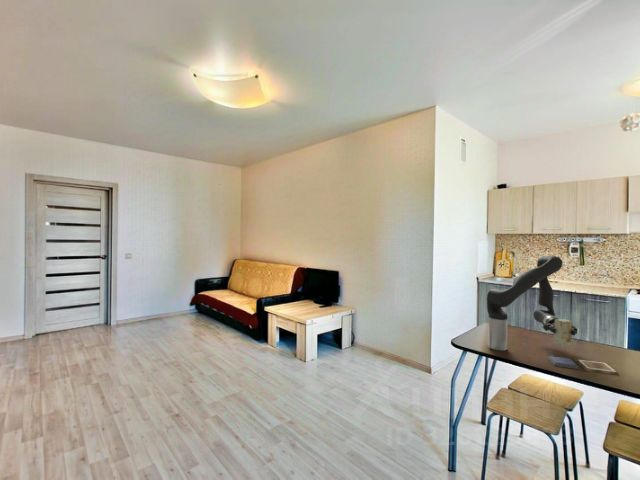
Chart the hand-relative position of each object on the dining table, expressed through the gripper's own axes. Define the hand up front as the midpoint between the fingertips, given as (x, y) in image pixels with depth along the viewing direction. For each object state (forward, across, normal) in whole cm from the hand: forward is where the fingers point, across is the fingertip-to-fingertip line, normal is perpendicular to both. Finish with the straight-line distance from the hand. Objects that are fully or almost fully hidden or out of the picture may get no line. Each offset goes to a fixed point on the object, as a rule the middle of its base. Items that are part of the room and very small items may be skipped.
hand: (564, 332), depth 154 cm
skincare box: (-2, 0, +7) cm, 7 cm away
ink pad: (-2, 0, +16) cm, 17 cm away
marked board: (-2, +14, +16) cm, 21 cm away
